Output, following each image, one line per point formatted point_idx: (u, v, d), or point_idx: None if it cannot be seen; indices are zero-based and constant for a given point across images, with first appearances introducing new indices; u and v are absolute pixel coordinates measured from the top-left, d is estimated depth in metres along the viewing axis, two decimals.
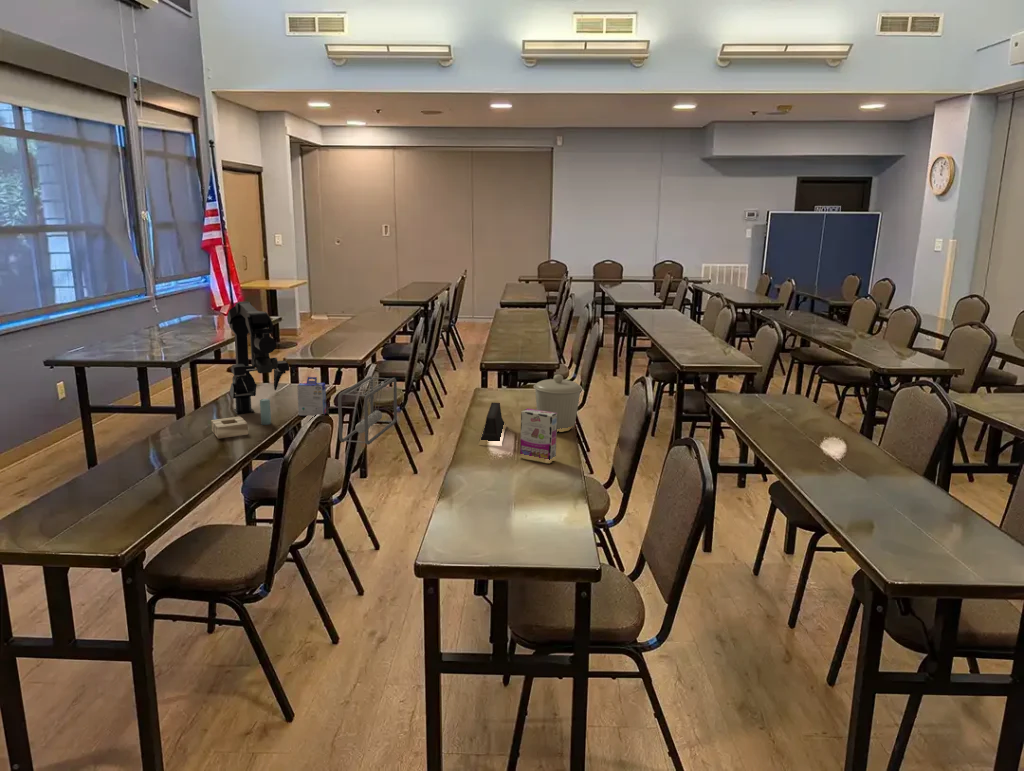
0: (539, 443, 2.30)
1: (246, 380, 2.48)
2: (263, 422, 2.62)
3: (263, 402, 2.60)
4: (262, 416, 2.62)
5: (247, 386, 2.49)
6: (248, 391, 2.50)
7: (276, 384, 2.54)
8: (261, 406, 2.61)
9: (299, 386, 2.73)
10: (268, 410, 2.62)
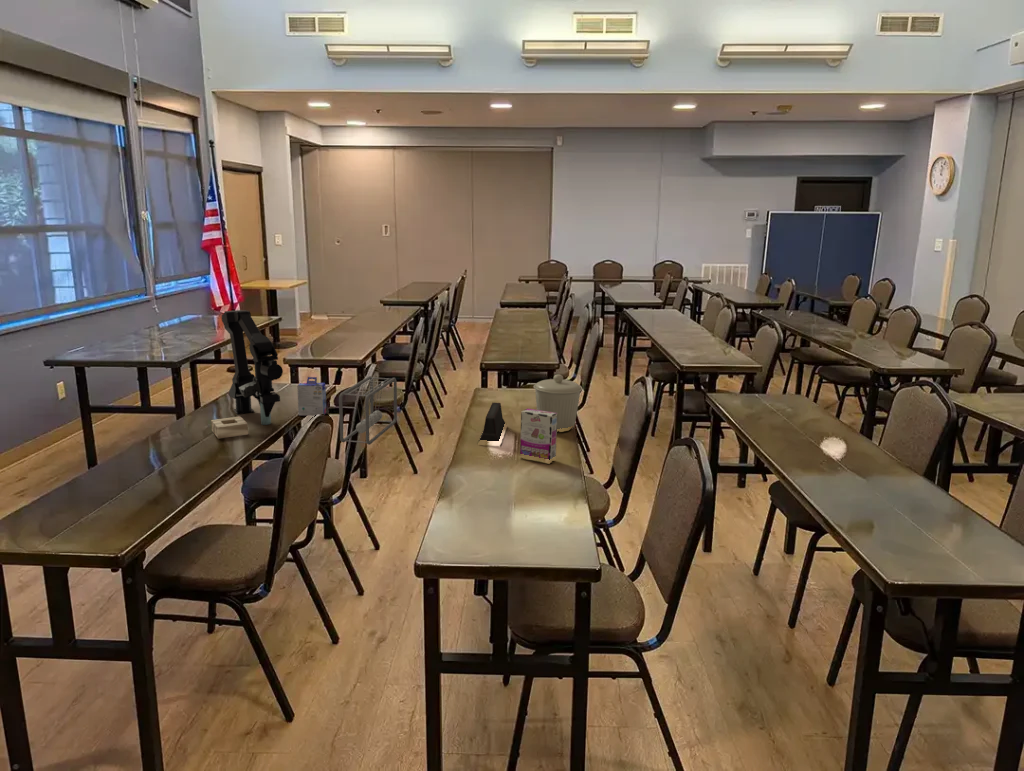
0: (539, 443, 2.30)
1: (259, 401, 2.64)
2: (263, 422, 2.62)
3: None
4: (262, 416, 2.62)
5: None
6: None
7: (264, 411, 2.61)
8: (261, 406, 2.61)
9: (299, 386, 2.73)
10: None
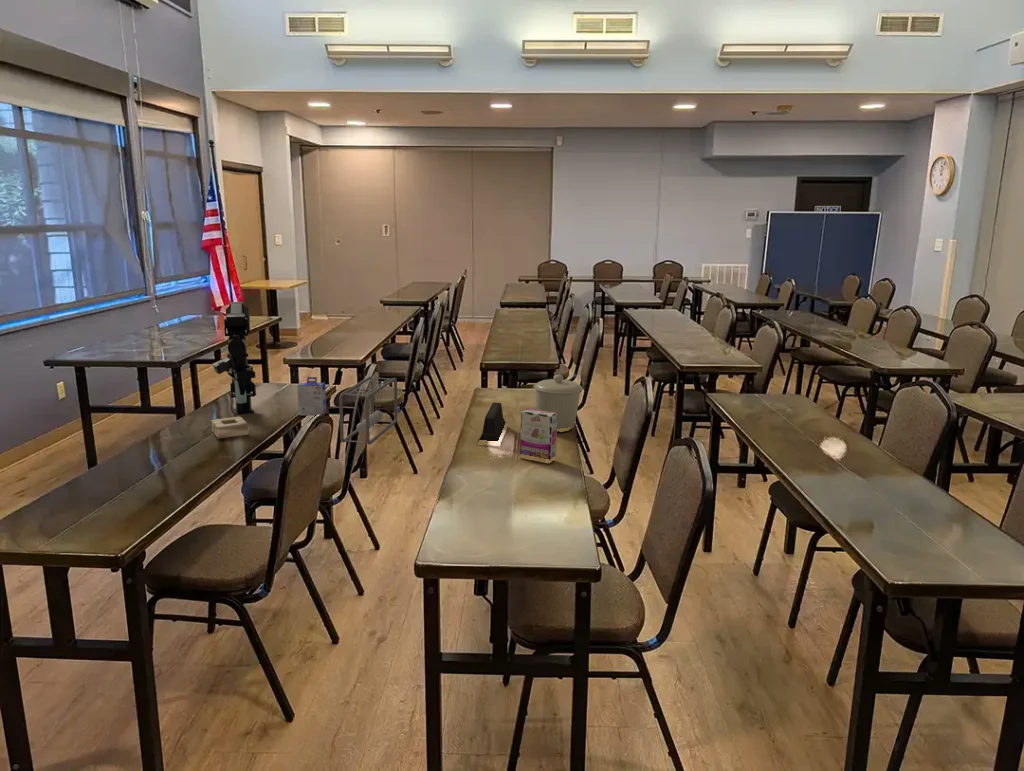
0: (539, 443, 2.30)
1: (233, 379, 2.53)
2: (238, 401, 2.52)
3: None
4: (237, 394, 2.51)
5: None
6: None
7: (239, 389, 2.50)
8: (236, 384, 2.51)
9: (299, 386, 2.73)
10: None
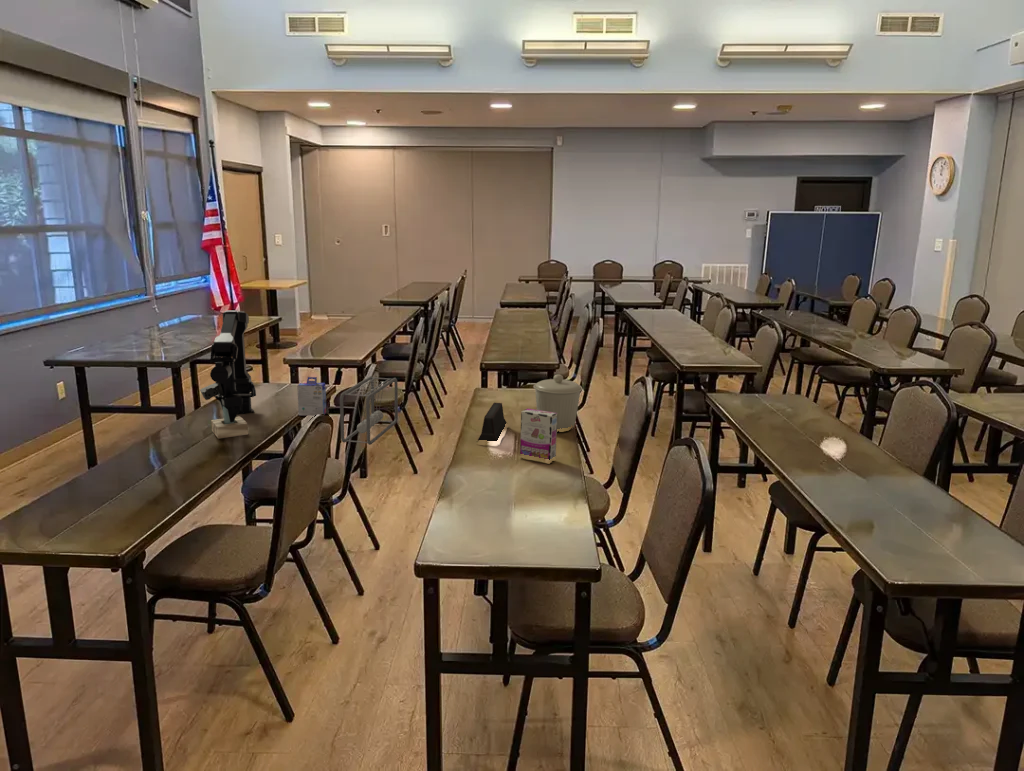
0: (539, 443, 2.30)
1: (220, 403, 2.53)
2: None
3: None
4: (225, 422, 2.50)
5: (222, 409, 2.54)
6: None
7: None
8: (224, 411, 2.49)
9: (299, 386, 2.73)
10: None
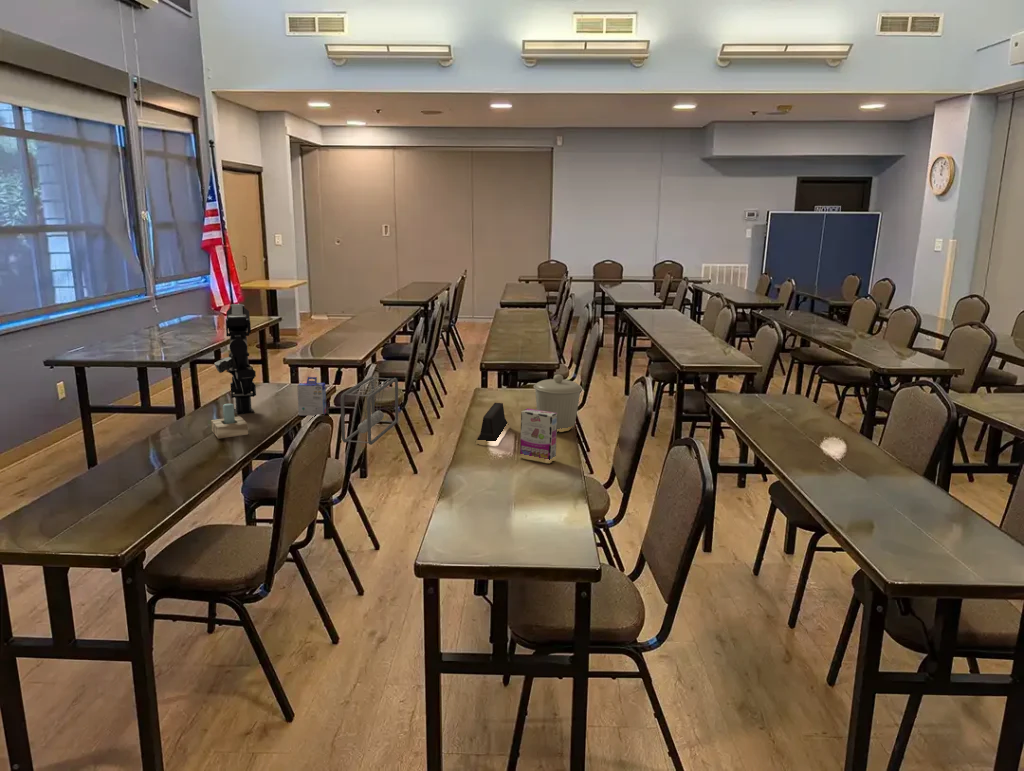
0: (539, 443, 2.30)
1: (233, 376, 2.63)
2: None
3: (226, 407, 2.49)
4: (225, 422, 2.50)
5: (235, 382, 2.63)
6: (236, 387, 2.64)
7: (242, 389, 2.56)
8: (224, 411, 2.49)
9: (299, 386, 2.73)
10: (231, 415, 2.50)
